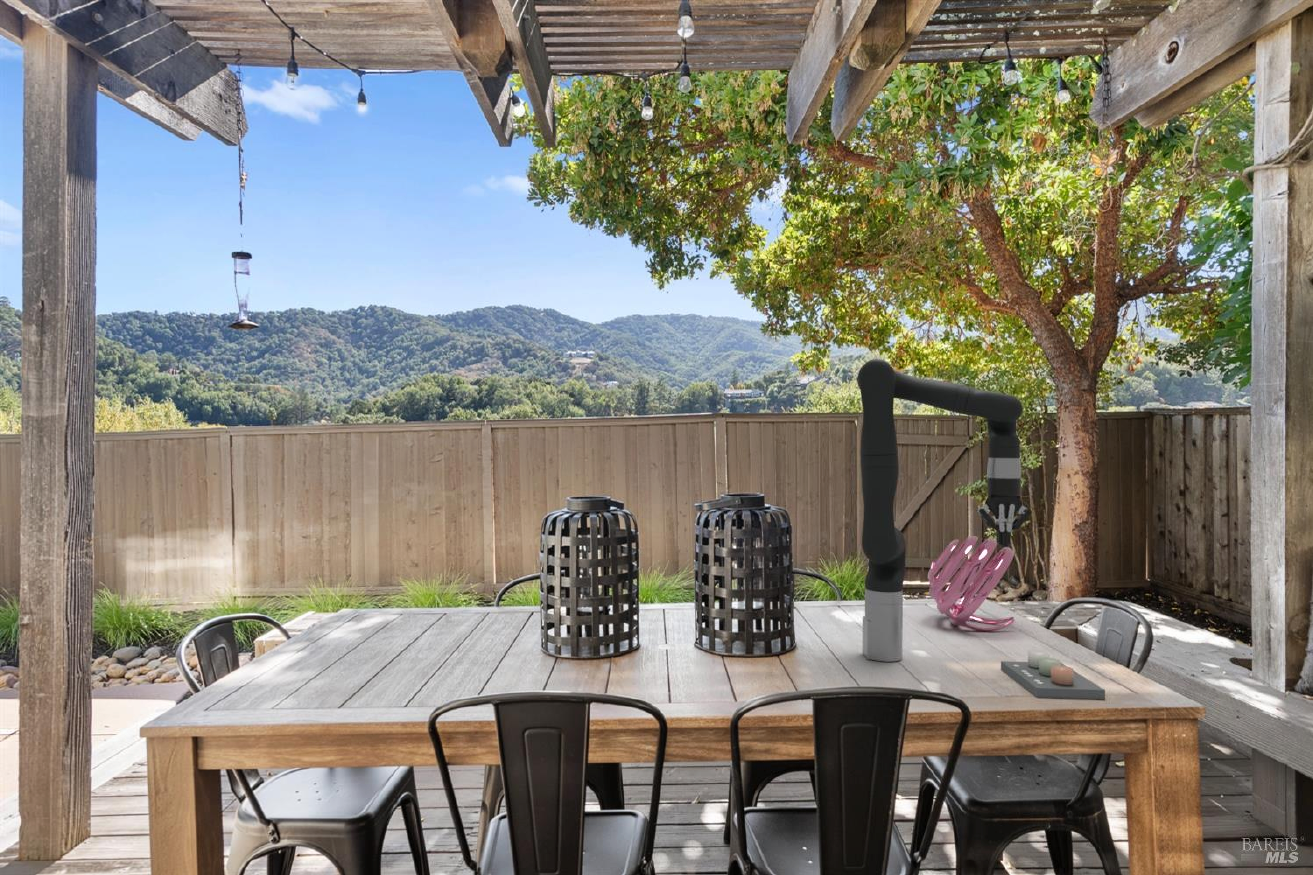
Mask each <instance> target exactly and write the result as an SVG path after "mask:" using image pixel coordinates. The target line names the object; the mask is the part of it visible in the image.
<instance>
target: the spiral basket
mask: <svg viewBox="0 0 1313 875" xmlns="http://www.w3.org/2000/svg"><path fill="white" fill-rule="evenodd" d="M978 539H979V537H978V536H975V535H971V536H967V538H966V539H965V540H964V541H963V542H962V543H961V545H959V546H958V548H957V549H956V547H957V545H958V543H959V542H960V540H959V539H954V540H953V541H951V542H950V543H949V544H947V546H946V547H945V548H944V550H943V551H942V552H941V554H940V555H939V556H938V558H937V559H936V561H934V560H933V561H932V562H931V564H930V568H929V570H928V573H927V580H928V582H929V590H928V593H929V597H930V598H932V599H934V601H935V603H936V604H937V605H936V609H937V611H938V612H939V613H940V614H941V615H945V616H946V617H948V618H949V620H950V622H951V624H953V625H954V626H958V627H964V628H967V629H968V630H969V629H970V630H974V631H980V632H994V631H995V632H996V631H999V630H1003V629H1005V628H1008V627H1009V626H1011V625H1012V624H1013V623H1015V620H1016V619H1015V617H1014V616H1011V617H1007V618H1002V619H991V618H986V617H982V616H978V615H975V614H974V613H975V612H976V611H977V610H978V609H979V608H980V607H981V605H982V604H983V603H984V602H985V600H987V598H988V597H989V595H991V593H992V591H993V590H994V589H995V587H996V586H997V584H998V583H999V582H1000V580H1001V579H1002V578H1003V576H1004V574H1005V573H1006V571H1007V570H1008V567H1009V566H1010V565H1011V563H1012V560H1013V559H1014V556H1015V552H1014V550H1013V549H1012V548H1011V547H1009V546H1008V547H1002V548H1001V549H1000V550H999V551H998V552H997V553H996V554H995V555H994V556H993V557H992V554H993V553H994V552H995V549H996V547H997V545H998V544H997V539H994V538H989V537H988V538H986V539H985V540H984V541H983V542H982V543H980V545H979V546H978V547H977V548H976V549H975V550H974V551H973V553H972V554H971V555H970V556H969V554H970V553H971V551H972V550H973V548H974V547H975V545H976V544H977V541H978ZM955 549H956V550H955ZM954 550H955V552H954V553H953V551H954ZM952 553H953V554H952ZM951 554H952V555H951ZM950 555H951V557H950ZM968 556H969V558H968V559H967V557H968ZM991 557H992V558H991ZM948 558H949V559H948ZM990 558H991V559H990ZM989 559H990V561H989ZM965 560H966V561H965ZM964 561H965V562H964ZM988 561H989V562H988ZM945 563H946V564H945ZM963 563H964V564H963ZM944 564H945V565H944ZM962 564H963V565H962ZM943 565H944V566H943ZM961 566H962V567H961ZM941 567H943V568H942V569H941ZM960 567H961V568H960ZM959 568H960V570H959ZM939 570H940V572H939V573H938V571H939ZM958 570H959V571H958ZM957 571H958V572H957ZM956 572H957V573H956ZM937 573H938V574H937ZM955 573H956V575H955ZM936 574H937V576H935V575H936ZM954 575H955V576H954ZM953 576H954V578H953ZM952 578H953V579H952ZM951 579H952V580H951ZM950 580H951V581H950ZM949 581H950V583H949ZM948 583H949V585H948V586H947V587H946V589H945V590H944V591H943V588H944V587H945V586H946V585H947V584H948ZM961 597H962V598H961ZM960 598H961V599H960ZM958 601H959V602H958ZM957 602H958V603H957ZM951 611H952V612H951ZM968 620H970V621H973V622H976V623H981V624H990V625H993V624H1001V625H999V626H998V625H997V626H993V627H983V626H977V625H974V624H973V625H972V624H970V623H969V622H967V621H968ZM1002 623H1004V624H1002Z"/></svg>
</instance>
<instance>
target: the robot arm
mask: <svg viewBox="0 0 1313 875" xmlns="http://www.w3.org/2000/svg"><path fill="white" fill-rule="evenodd" d="M856 380H857V386H858V389H859V390H860V395H861V396H860V397H861V403H862V428H861V435H860V448H859V449H860V452H859V454H860V473H861V489H862V490H861V491H862V500H863V523H862V533H861V534H862V535H861V547H862V551H863V553H864V556H865V557H866V559H868V569H867V572H866V575H865V578H864V615H863V616H862V654H863V656H865V658H866V660H873V661H878V662H887V663H889V662H891V663H892V662H898V661H902V659H903V650H904V649H903V623H904V622H903V621H904V620H903V616H904V615H903V602H904V600H903V597H904V592H903V590H904V586H903V585H904V581H905V574H906V551H907V550H906V549H907V548H906V539H905V537H904V534H903V533H902V532H901V530H900V529H899V528H898V527H897V526H895V518H894V504H895V499H896V492H897V487H898V482H899V475H900V474H899V473H900V472H899V471H900V468H899V449H898V448H899V447H898V437H897V430H896V425H895V423H896V422H895V418H894V402H895V401H894V399H899V400H905V401H909V402H910V401H911V402H915V403H919V404H922V405H926V406H930V407H932V408H933V407H934V408H938V409H941V410H945V411H949V412H952V413H956V414H961V415H966V416H976V417H980V418H983V419H986V424H987V433H988V459H987V460H988V461H987V468H986V471H987V472H986V476H987V477H986V478H987V483H986V484H987V485H986V488H987V489H986V490H987V492H986V493H987V497H986V500H985V502H984V505H982V506H981V507H977V508H976V510H975V511H976V513H977V514H978V515H979V516H980V518H981V519H982V521H983V522H984V523H985V524H986V525H987V527H988V528H990V529H992V530H993V531H994V530H995V531H996V541H997V545H998V546H999V548H1004V547H1009V546H1010V545H1011V536H1012V531H1014V530H1015V531H1018V530H1019V529H1020V528H1021V526H1022V525H1023V524H1024V523H1025V522H1026V520H1027V519H1028V518H1029V516H1031V515H1032V513H1033V512H1032V510H1031V509H1030V508H1029V509H1028V508H1027V507H1026V506H1025V505H1023V500H1022V499H1021V496H1022V494H1021V493H1022V482H1021V481H1022V468H1021V467H1022V465H1021V457H1020V456H1021V447H1020V446H1021V444H1020V443H1021V442H1020V438H1019V436H1018V432H1017V421H1018V420H1019V419H1020V417H1021V416H1022V414H1023V409H1024V408H1023V404H1022V402H1021V400H1020V399H1019V398H1017V397H1016V396H1013V395H1010V394H1007V393H1002V392H996V391H989V390H983V389H979V388H975V387H972V386H969V385H963V384H960V383H956V382H950V381H945V380H938V379H928V378H922V377H917V376H913V375H909V374H906V373H902V372H901V371H897V370H895V369H894V367H893V366H892V365H891V364H890V363H889V362H888V361H886V360H884V359H880V358H874V359H870V360H868V361H866V362H865V363H864V364H863V365H862V366H861V367H860V369H859V370H858V374H857V379H856ZM989 513H991V514H992V516H993V517H994V520H993V519H992V518H991V516H990V515H989ZM1017 513H1018V515H1017ZM1016 515H1017V516H1016ZM1015 516H1016V517H1015ZM1014 517H1015V519H1014Z"/></svg>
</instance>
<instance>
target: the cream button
mask: <svg viewBox="0 0 1313 875" xmlns="http://www.w3.org/2000/svg"><path fill="white" fill-rule="evenodd" d="M1039 658H1050V654H1049V652H1046V651H1043V650H1033V649H1032V650H1028V651H1027V662H1028V665H1029V666H1031V667H1034V668H1039Z"/></svg>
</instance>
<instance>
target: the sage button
mask: <svg viewBox="0 0 1313 875" xmlns="http://www.w3.org/2000/svg"><path fill="white" fill-rule="evenodd" d="M1061 663H1062V661H1061V660H1060V659H1057V658H1053V657H1049V658H1039V673H1040V674H1042V675H1046V676H1051V666H1053V665H1061Z"/></svg>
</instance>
